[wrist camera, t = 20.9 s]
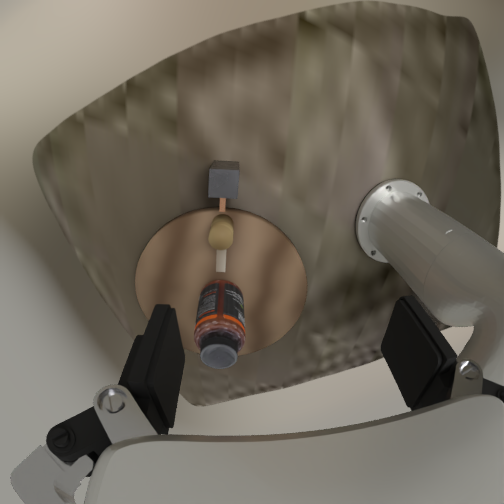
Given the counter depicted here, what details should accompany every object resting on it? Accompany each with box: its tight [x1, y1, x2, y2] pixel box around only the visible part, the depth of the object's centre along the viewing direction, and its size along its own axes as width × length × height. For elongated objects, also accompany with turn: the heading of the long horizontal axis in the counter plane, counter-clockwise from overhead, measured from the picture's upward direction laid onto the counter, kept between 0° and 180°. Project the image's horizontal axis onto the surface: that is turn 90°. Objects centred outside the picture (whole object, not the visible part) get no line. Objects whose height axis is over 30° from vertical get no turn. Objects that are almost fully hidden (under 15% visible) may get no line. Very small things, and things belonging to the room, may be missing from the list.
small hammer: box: [208, 161, 239, 212], centre depth 32 cm, size 3×5×6 cm, turn 175°
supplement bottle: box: [194, 280, 245, 369], centre depth 34 cm, size 6×6×11 cm
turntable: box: [135, 207, 307, 356], centre depth 38 cm, size 24×24×6 cm
